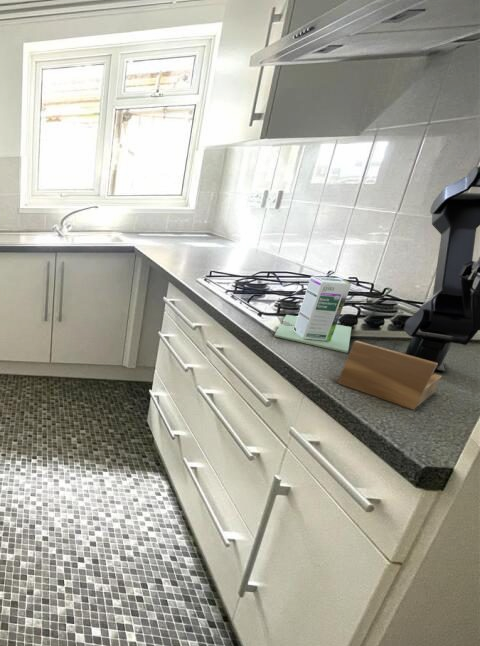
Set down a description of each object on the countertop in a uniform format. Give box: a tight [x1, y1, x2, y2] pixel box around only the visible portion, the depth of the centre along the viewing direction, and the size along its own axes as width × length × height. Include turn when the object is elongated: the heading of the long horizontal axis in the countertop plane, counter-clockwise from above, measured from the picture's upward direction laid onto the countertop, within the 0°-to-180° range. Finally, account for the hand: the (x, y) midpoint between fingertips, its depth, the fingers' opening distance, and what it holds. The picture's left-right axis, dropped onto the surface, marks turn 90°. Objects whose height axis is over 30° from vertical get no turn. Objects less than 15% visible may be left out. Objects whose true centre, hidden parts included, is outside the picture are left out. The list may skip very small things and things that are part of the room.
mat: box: [273, 314, 352, 354], centre depth 106 cm, size 20×14×1 cm
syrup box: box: [294, 275, 352, 341], centre depth 99 cm, size 6×6×14 cm
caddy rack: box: [337, 340, 442, 411], centre depth 78 cm, size 10×11×9 cm
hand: (472, 323), depth 76 cm, fingers open, 9 cm apart
